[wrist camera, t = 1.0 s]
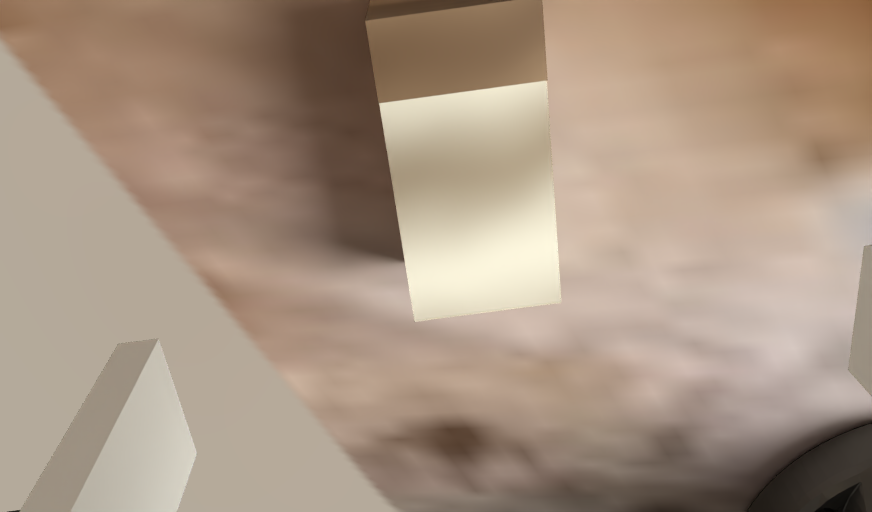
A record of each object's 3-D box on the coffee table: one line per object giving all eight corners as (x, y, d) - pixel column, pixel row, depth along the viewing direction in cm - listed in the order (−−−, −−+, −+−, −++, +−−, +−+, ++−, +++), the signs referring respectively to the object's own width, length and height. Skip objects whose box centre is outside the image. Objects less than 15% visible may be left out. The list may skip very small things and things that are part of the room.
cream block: (540, 245, 31) (562, 302, 27) (412, 262, 31) (414, 322, 27) (520, -23, 26) (541, -4, 22) (370, -3, 26) (365, 20, 22)
